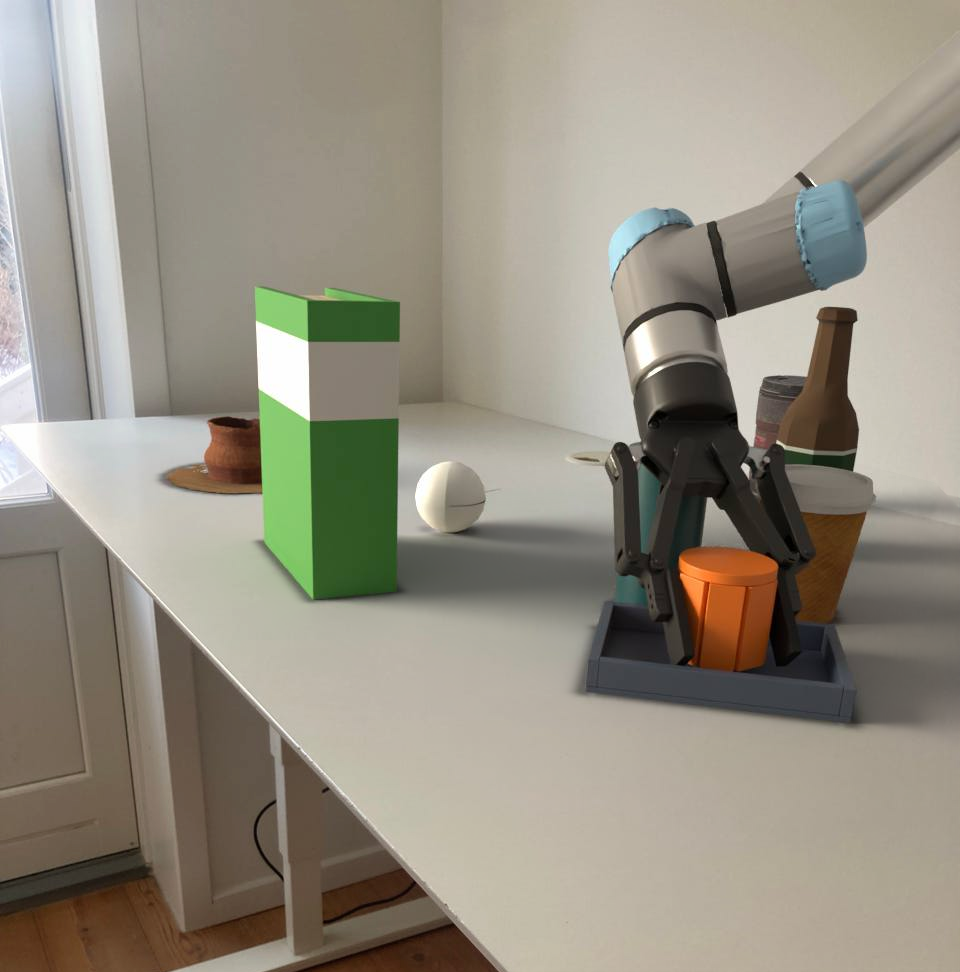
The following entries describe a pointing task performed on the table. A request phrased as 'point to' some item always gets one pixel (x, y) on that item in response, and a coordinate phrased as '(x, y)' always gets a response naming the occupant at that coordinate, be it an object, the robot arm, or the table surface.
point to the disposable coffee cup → (828, 532)
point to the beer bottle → (824, 400)
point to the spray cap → (728, 605)
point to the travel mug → (773, 410)
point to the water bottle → (684, 535)
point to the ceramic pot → (227, 459)
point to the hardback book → (330, 437)
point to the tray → (719, 671)
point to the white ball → (450, 497)
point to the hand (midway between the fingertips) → (736, 660)
